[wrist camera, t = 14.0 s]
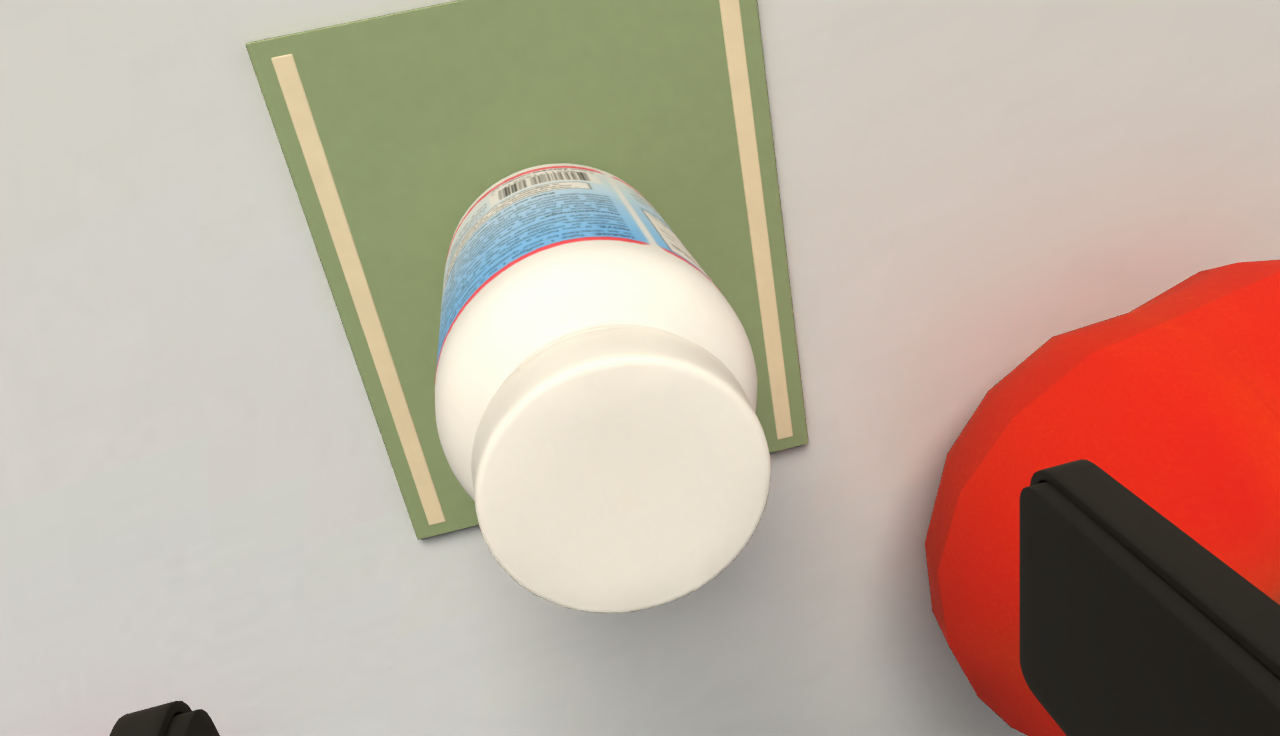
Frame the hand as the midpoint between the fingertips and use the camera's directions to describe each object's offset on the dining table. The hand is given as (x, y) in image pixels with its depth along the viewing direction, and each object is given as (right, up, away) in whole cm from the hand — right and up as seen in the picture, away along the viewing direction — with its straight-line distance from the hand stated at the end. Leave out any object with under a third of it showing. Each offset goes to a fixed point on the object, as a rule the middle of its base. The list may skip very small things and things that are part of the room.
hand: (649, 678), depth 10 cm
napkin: (-2, +6, +14) cm, 15 cm away
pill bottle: (-2, +6, +14) cm, 15 cm away
